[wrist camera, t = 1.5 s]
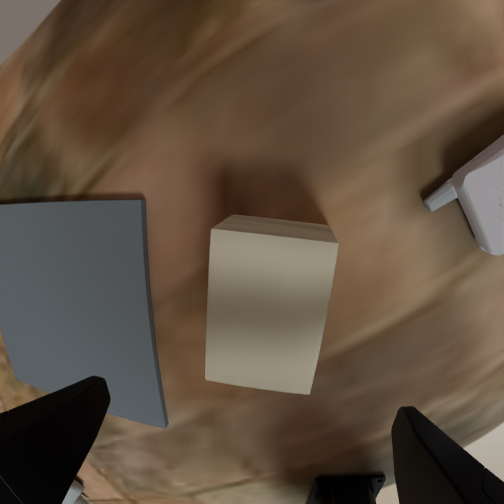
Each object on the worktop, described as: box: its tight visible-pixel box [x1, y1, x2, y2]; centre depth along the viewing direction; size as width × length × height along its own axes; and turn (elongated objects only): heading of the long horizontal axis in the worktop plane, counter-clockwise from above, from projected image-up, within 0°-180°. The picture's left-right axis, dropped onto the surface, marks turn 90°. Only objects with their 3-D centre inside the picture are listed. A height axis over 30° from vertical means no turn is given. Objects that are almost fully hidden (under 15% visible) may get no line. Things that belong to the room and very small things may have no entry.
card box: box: [205, 214, 339, 395], centre depth 17 cm, size 8×6×5 cm
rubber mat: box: [0, 199, 168, 428], centre depth 22 cm, size 18×18×1 cm
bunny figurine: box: [62, 479, 89, 504], centre depth 29 cm, size 10×5×15 cm
